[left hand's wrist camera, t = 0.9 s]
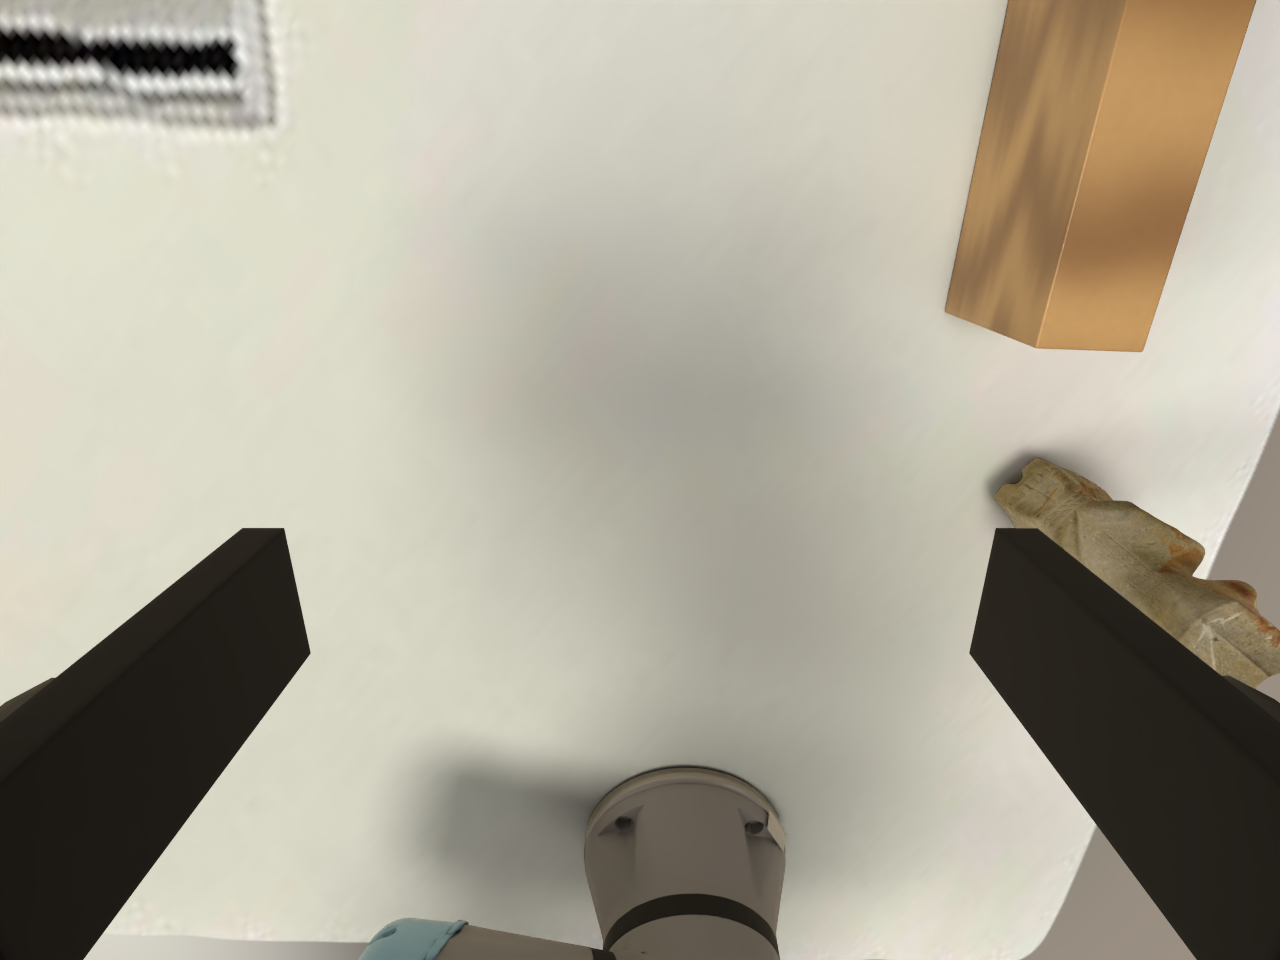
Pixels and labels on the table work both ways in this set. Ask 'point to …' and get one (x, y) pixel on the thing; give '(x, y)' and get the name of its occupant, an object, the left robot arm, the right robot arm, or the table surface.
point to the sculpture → (1148, 569)
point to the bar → (1090, 165)
